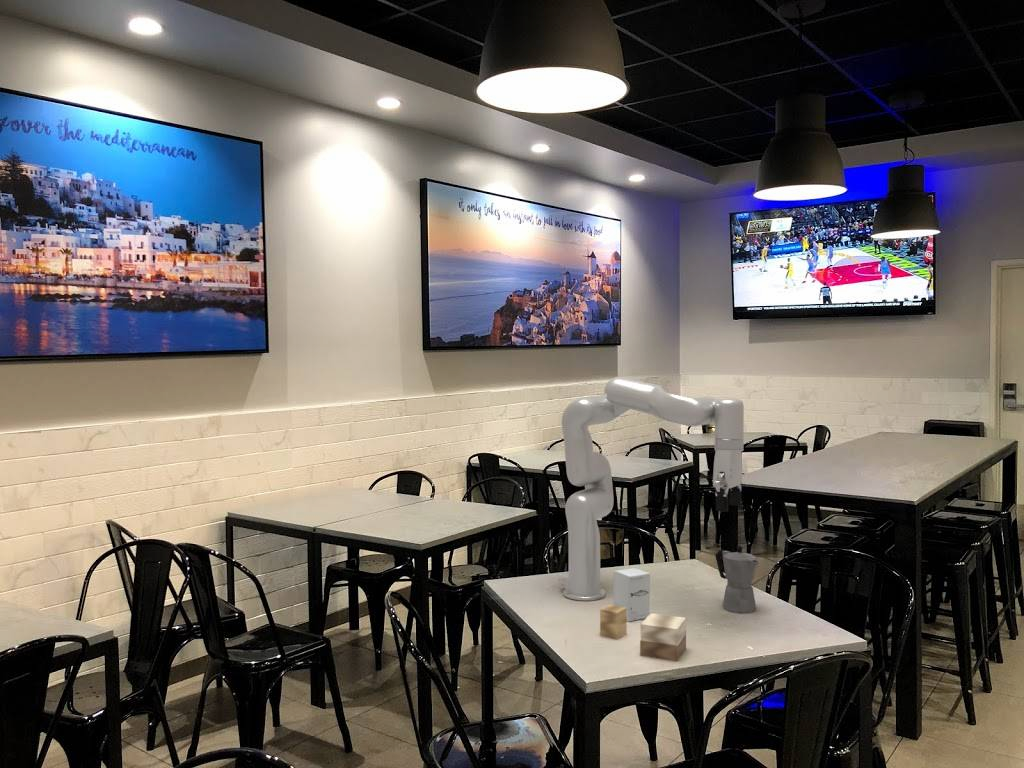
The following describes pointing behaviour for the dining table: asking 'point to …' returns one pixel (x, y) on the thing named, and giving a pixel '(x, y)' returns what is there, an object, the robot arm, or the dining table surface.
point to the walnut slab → (662, 650)
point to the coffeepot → (738, 580)
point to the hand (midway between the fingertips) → (728, 508)
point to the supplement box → (632, 592)
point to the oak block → (613, 621)
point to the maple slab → (663, 629)
